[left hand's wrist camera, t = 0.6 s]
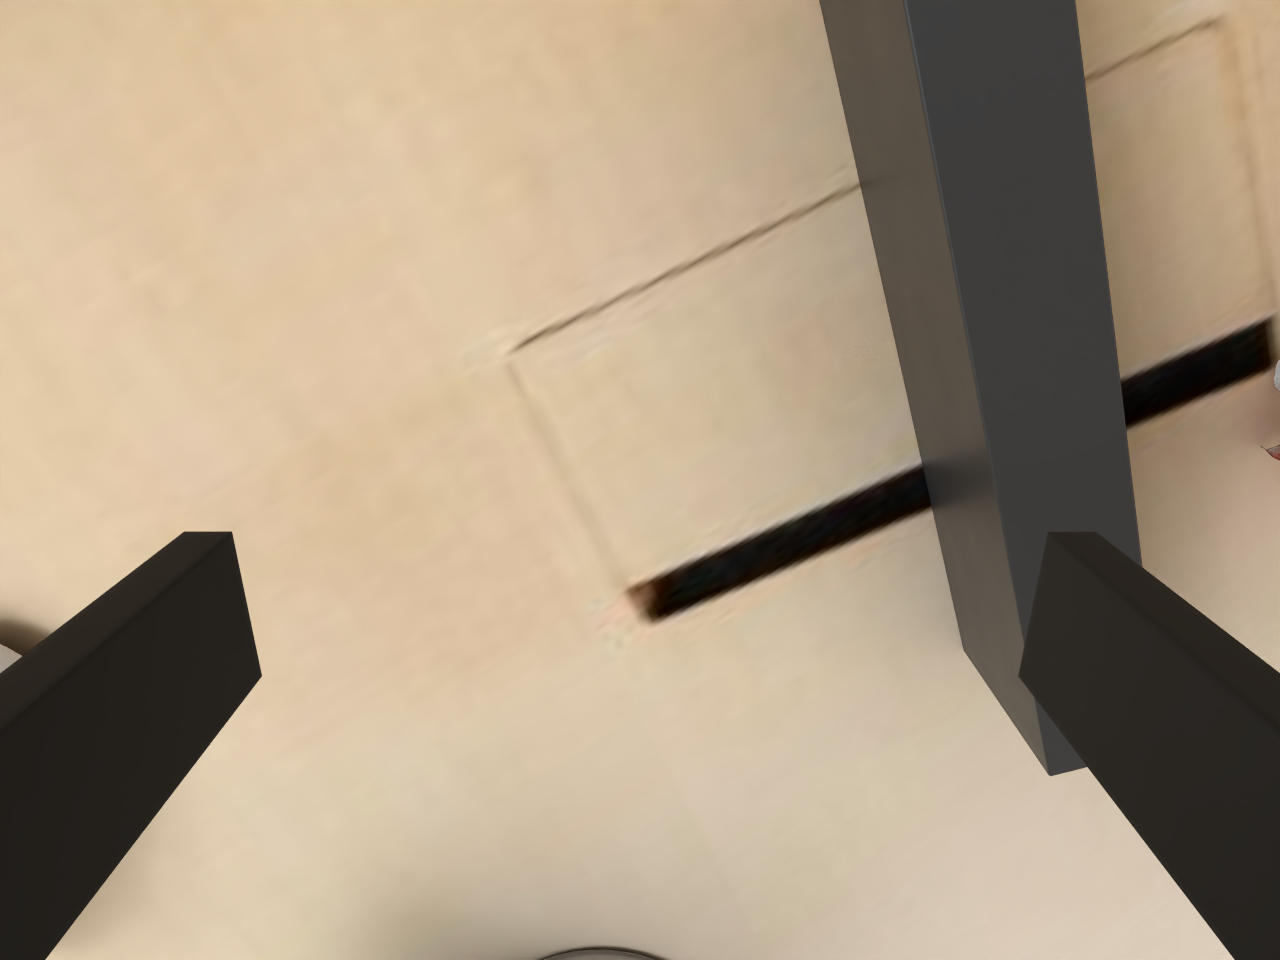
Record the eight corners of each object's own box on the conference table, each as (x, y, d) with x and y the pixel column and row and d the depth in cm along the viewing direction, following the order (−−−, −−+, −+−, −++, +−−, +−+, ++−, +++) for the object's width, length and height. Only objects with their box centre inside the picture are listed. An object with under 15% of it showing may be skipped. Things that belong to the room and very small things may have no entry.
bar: (1052, 626, 41) (1165, 748, 32) (963, 650, 41) (1049, 777, 32) (926, -112, 29) (1048, -235, 20) (804, -63, 30) (872, -164, 21)
